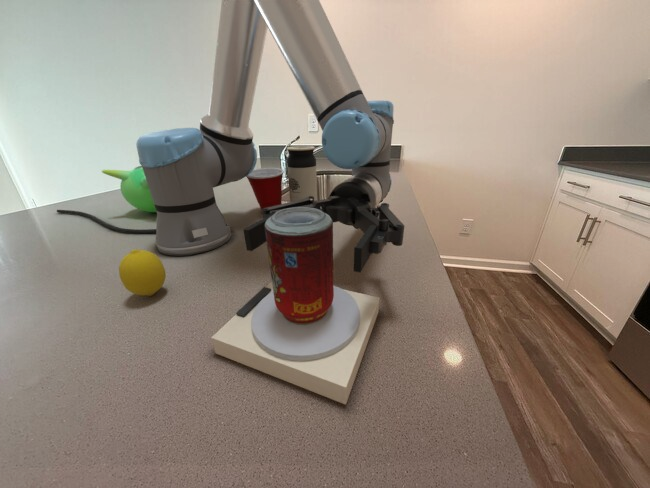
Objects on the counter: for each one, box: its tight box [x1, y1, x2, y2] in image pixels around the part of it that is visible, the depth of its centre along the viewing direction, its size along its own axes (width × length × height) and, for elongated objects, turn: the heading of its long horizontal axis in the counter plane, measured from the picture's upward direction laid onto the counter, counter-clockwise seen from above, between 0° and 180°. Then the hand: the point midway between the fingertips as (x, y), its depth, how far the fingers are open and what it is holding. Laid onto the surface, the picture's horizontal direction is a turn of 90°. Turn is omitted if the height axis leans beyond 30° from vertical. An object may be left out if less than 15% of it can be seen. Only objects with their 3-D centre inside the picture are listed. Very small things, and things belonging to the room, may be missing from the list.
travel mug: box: [286, 145, 318, 202], centre depth 73 cm, size 8×8×18 cm
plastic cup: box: [245, 167, 285, 211], centre depth 75 cm, size 11×11×12 cm
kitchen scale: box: [210, 280, 380, 406], centre depth 32 cm, size 16×14×3 cm
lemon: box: [118, 248, 167, 297], centre depth 39 cm, size 6×6×8 cm
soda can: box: [265, 207, 335, 325], centre depth 29 cm, size 7×7×12 cm
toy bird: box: [101, 165, 157, 213], centre depth 77 cm, size 18×17×15 cm
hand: (297, 249), depth 28 cm, fingers open, 13 cm apart
